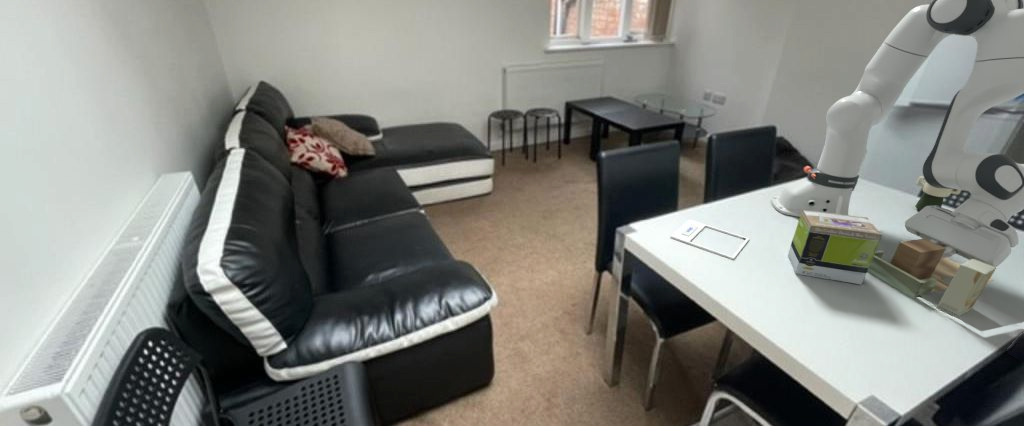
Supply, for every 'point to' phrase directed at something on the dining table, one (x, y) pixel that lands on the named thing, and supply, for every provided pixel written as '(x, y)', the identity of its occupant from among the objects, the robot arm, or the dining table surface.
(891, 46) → the robot arm
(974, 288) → the skincare box
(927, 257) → the walnut block
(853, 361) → the dining table surface
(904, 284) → the wooden slotted tray
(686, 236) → the photo frame
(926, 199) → the cream and green cup
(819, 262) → the tea box
